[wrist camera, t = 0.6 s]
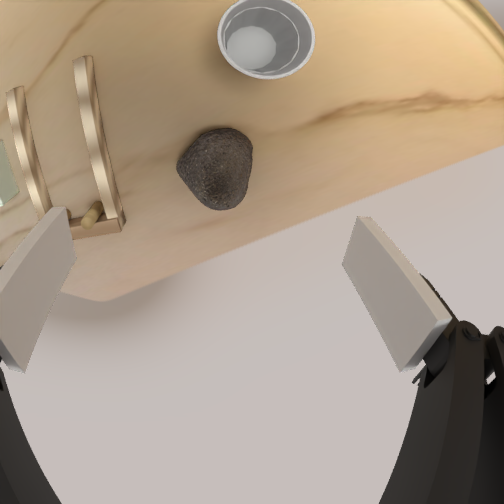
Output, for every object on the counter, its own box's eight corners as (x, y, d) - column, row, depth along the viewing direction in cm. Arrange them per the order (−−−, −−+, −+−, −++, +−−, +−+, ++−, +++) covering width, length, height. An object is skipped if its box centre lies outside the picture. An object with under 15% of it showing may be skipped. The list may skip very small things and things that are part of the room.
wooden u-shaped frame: (15, 90, 24) (-5, 95, 20) (92, 56, 25) (75, 55, 21) (55, 234, 38) (42, 252, 34) (126, 221, 39) (117, 239, 35)
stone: (195, 123, 36) (150, 175, 33) (238, 108, 30) (188, 167, 27) (234, 172, 42) (199, 224, 39) (279, 168, 37) (243, 228, 33)
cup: (260, 90, 31) (282, 96, 21) (203, 59, 28) (198, 50, 18) (295, 41, 28) (332, 28, 18) (239, 9, 25) (251, -21, 15)
